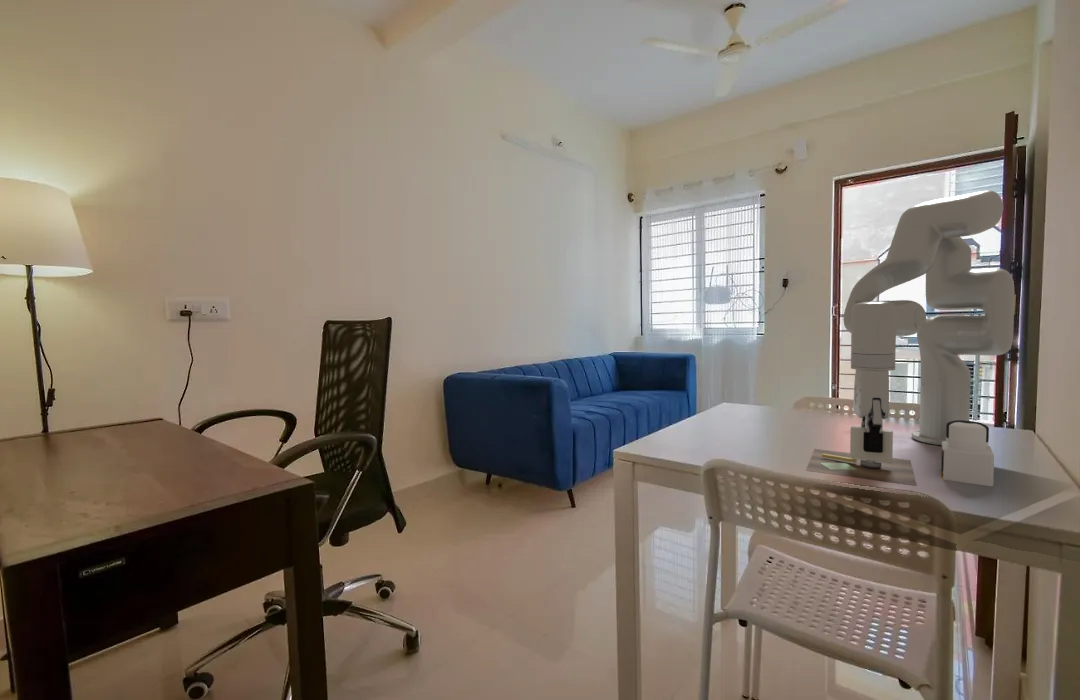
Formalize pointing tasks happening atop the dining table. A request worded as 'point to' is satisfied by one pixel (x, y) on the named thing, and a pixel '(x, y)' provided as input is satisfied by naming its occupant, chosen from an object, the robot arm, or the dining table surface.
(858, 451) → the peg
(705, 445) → the dining table surface
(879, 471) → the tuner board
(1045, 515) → the dining table surface
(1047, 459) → the dining table surface
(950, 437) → the medicine bottle
